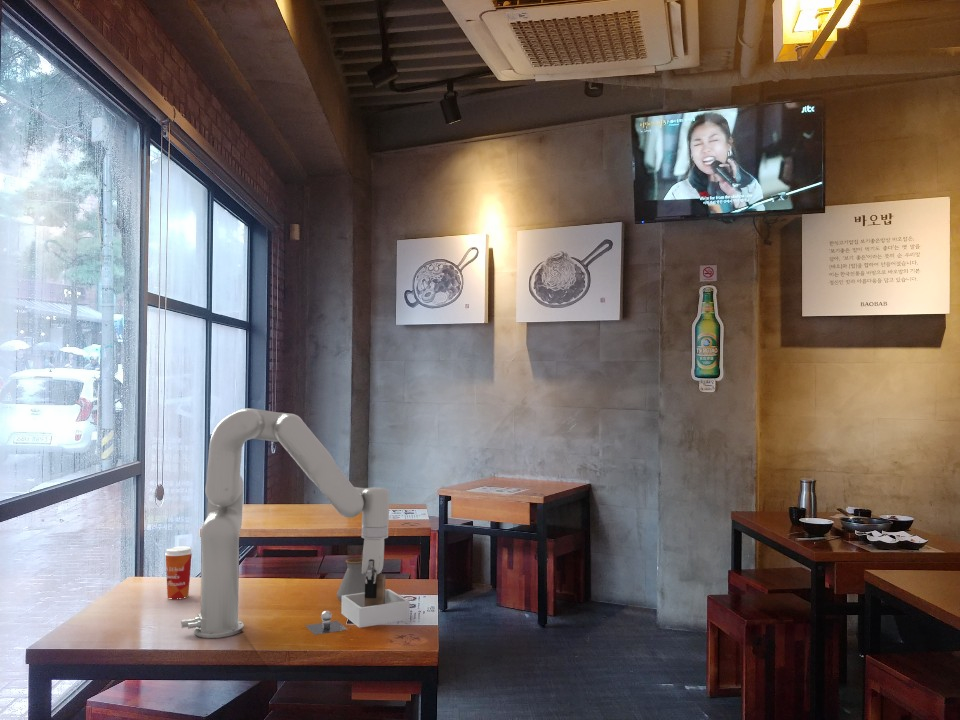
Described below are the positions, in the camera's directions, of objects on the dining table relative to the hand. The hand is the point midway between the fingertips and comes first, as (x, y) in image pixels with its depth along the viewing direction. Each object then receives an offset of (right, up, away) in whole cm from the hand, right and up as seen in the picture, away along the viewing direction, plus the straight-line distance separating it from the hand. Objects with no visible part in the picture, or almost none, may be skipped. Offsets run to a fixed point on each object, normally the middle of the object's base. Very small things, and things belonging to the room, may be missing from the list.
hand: (373, 593), depth 209 cm
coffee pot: (-7, -9, +22) cm, 25 cm away
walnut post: (+1, -6, 0) cm, 6 cm away
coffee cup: (-64, -9, +23) cm, 69 cm away
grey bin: (0, -7, 0) cm, 7 cm away
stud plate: (-11, -7, -10) cm, 17 cm away
